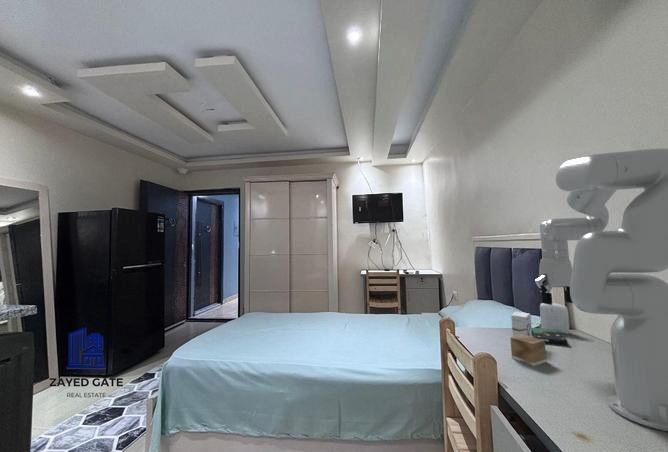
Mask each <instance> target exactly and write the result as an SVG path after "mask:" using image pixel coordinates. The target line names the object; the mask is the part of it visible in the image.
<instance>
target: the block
mask: <svg viewBox="0 0 668 452" xmlns="http://www.w3.org/2000/svg"><path fill="white" fill-rule="evenodd" d="M510 350H511V351H510V352H511V359H513V360H515V361H518V362H521V363H525V364H528V365H530V366H533V367H534V366H538V365H541V364H544V363H547V353H546V351H547V350H546V344H545V340H541V339H538V338H534V337H530V336H526V335H519V336H515V337H513V336H511V337H510Z"/></svg>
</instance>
